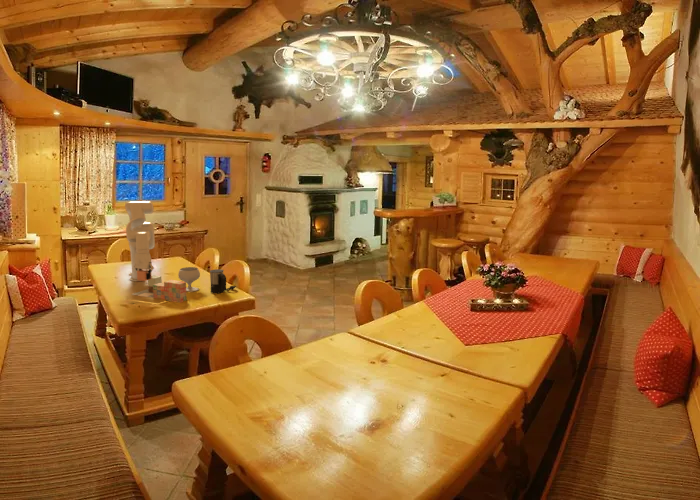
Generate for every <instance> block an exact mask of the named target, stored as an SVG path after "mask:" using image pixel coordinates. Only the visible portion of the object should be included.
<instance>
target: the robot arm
mask: <svg viewBox="0 0 700 500" xmlns="http://www.w3.org/2000/svg"><path fill="white" fill-rule="evenodd" d="M124 208H125V211H126V213H127V215H128V217H129V222H127V225H126V227H125V233H126V240H127V241H128V247H129V250H130V260H131V261H130V262H131V272H130V273H128V276H129V277H130V278H129V280H130V281H131V282H141V280H138V279H137V271H139V270H143V269H146V272H147V273H146V278H147V281H148V279H151V276H152V272H153V271H154V269H155V267H154V265H152V264H153V263H152V262H153V261H152V256H151V254H150V250H153V249H155V245H156V244H155V243H156V241H155V239H156V238H155V226H154V224H153V223H152V222H148V221H146V214H147V215H149V214H150V215H151V214H153V213H154V205H153V202H152V201H150V200H149V201H148V200H147V201H146V200H142V201H140V200H139V201H138V200H137V201H126V202H125V204H124ZM148 270H149V271H148Z"/></svg>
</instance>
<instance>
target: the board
mask: <svg viewBox="0 0 700 500" xmlns="http://www.w3.org/2000/svg"><path fill="white" fill-rule="evenodd" d="M132 295H133V296H139V297H145V298H147V297H148V298H154V294H153V293H152V292H149V291H148V288H147V289H143V290H141V291H138V292H133V293H131V296H132ZM154 299H155V298H154Z"/></svg>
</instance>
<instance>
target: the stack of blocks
mask: <svg viewBox="0 0 700 500" xmlns="http://www.w3.org/2000/svg"><path fill="white" fill-rule="evenodd" d="M186 288H187V283H186V282H184V281H182V280H174V279H168V280H166V281H164V282H162V283H157V284H155V285H153V294H154V299H160V300H161V299H162V300H165V301H167V302H168V301H169V302H173V303H174V302H175V303H183V302H185V301H187V299H188V298H187V291H186Z"/></svg>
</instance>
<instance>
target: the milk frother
mask: <svg viewBox="0 0 700 500" xmlns="http://www.w3.org/2000/svg"><path fill="white" fill-rule="evenodd" d="M224 271H225V270H224V269H217V268H216V269H211V270H209V277H210V293H211V294H222V293H224V292H225V291H229V290H231V289H232V290H234V289H235V288H237V285H230V286H229V287H227V277H226V275H225V273H224Z"/></svg>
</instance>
